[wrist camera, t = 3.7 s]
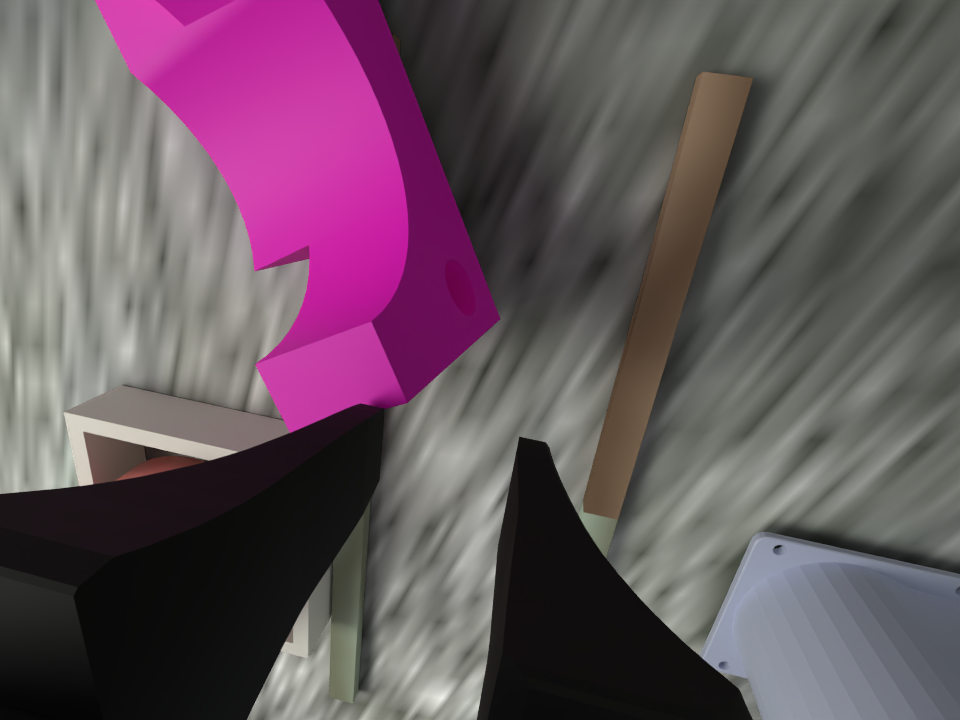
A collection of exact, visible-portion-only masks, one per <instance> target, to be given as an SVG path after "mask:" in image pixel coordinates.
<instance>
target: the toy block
mask: <svg viewBox="0 0 960 720" xmlns="http://www.w3.org/2000/svg"><path fill="white" fill-rule="evenodd" d="M95 1H96V3H97V5H98V7H99V9H100V11H101V13H102V15H103V17H104V19H105V21H106V23H107V25H108V27H109V29H110V31H111V33H112V35H113V37H114V39H115V41H116V43H117V45H118V47H119V49H120V51H121V54H122V56H123V58H124V60H125V62H126V64H127V66H128V68H129V70H130V72H131V73H132V74H133V75H134V76H135V77H136V78H138V79H139V80H140V81H141V82H142V83H143V84H145V85H146V86H147V87H148V88H149V89H150V90H152V91H153V92H154V93H155V94H156V95H157V96H158V97H159V98H160V99H161V100H162V101H163V102H164V103H165V104H166V105H167V106H168V107H169V108H170V109H171V110H172V111H173V112H174V113H175V114H176V115H177V116H178V117H179V118H180V119H181V121H182V122H183V123H184V124H185V125H186V126H187V127H188V129H189V130H190V131H191V132H192V133H193V135H194V136H195V137H196V138H197V139H198V141H199V142H200V143H201V145H202V146H203V147H204V149H205V150H206V151H207V153H208V154H209V155H210V157H211V158H212V160H213V161H214V163H215V164H216V166H217V167H218V169H219V170H220V172H221V174H222V175H223V177H224V179H225V181H226V182H227V184H228V186H229V188H230V190H231V192H232V194H233V196H234V198H235V200H236V202H237V204H238V206H239V209H240V212H241V214H242V217H243V219H244V222H245V225H246V228H247V232H248V235H249V238H250V243H251V248H252V253H253V260H254V269H255V271H258V270H262V269H267V268H271V267H275V266H280V265H284V264H288V263H293V262H297V261H301V260H306V259H310V262H309V277H308V284H307V290H306V294H305V297H304V301H303V304H302V307H301V309H300V312H299V314H298V317H297V319H296V320H295V322H294V324H293V326H292V327H291V329H290V331H289V332H288V333H287V335H286V336H285V337H284V339H283V340H282V341H281V343H280V344H279V345H278V346H277V347H275V348H274V349H273V350H272V351H271V352H270V353H269V354H268V355H267V356H266V357H264V358H263V359H262V360H260V361H259V362H258V363H256V364H255V365H256V367H257V369H258V371H259V373H260V375H261V377H262V379H263V381H264V383H265V385H266V387H267V389H268V390H269V392H270V394H271V396H272V398H273V400H274V402H275V404H276V406H277V408H278V410H279V412H280V414H281V416H282V418H283V420H284V422H285V424H286V426H287V428H288V430H289V432H290V433H291V432H293V431H296V430H298V429H300V428H303V427H305V426H307V425H310V424H312V423H314V422H317V421H319V420H321V419H323V418H326V417H328V416H330V415H332V414H335V413H337V412H339V411H342V410H344V409H346V408H349V407H351V406H354V405H357V404H360V403H361V404H366V405H371V406H375V407H380V408H385V409H387V408H391V407H394V406H398V405H402V404H405V403H408V402H409V401H410V400H411V399H412V398H413V397H415V396H416V395H417V394H418V393H419V392H420V391H421V390H422V389H423V388H425V387H426V386H427V385H428V384H429V383H430V382H431V381H432V380H433V379H434V378H436V377H437V376H438V375H439V374H440V373H441V372H442V371H443V370H444V369H446V368H447V367H448V366H449V365H450V364H451V363H452V362H453V361H454V360H456V359H457V358H458V357H459V356H460V355H461V354H462V353H463V352H464V351H465V350H467V349H468V348H469V347H470V346H471V345H472V344H473V343H474V342H475V341H477V340H478V339H479V338H480V337H481V336H482V335H483V334H484V333H485V332H487V331H488V330H489V329H490V328H491V327H492V326H493V325H494V324H495V323H496V322H498V321H499V320H500V317H499V314H498V312H497V309H496V306H495V304H494V301H493V299H492V296H491V293H490V291H489V288H488V286H487V283H486V280H485V278H484V275H483V272H482V270H481V267H480V265H479V262H478V259H477V257H476V254H475V252H474V249H473V246H472V244H471V241H470V239H469V236H468V233H467V231H466V228H465V225H464V223H463V220H462V218H461V215H460V212H459V210H458V207H457V205H456V202H455V199H454V197H453V194H452V192H451V189H450V186H449V184H448V181H447V178H446V176H445V173H444V171H443V168H442V165H441V163H440V160H439V158H438V155H437V152H436V150H435V147H434V144H433V142H432V139H431V137H430V134H429V131H428V129H427V126H426V124H425V121H424V118H423V116H422V113H421V111H420V108H419V105H418V103H417V100H416V97H415V95H414V92H413V90H412V87H411V84H410V82H409V79H408V77H407V74H406V71H405V69H404V66H403V63H402V61H401V58H400V56H399V53H398V50H397V48H396V45H395V43H394V40H393V37H392V35H391V32H390V30H389V27H388V24H387V22H386V19H385V16H384V14H383V11H382V9H381V6H380V3H379V1H378V0H95Z"/></svg>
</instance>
